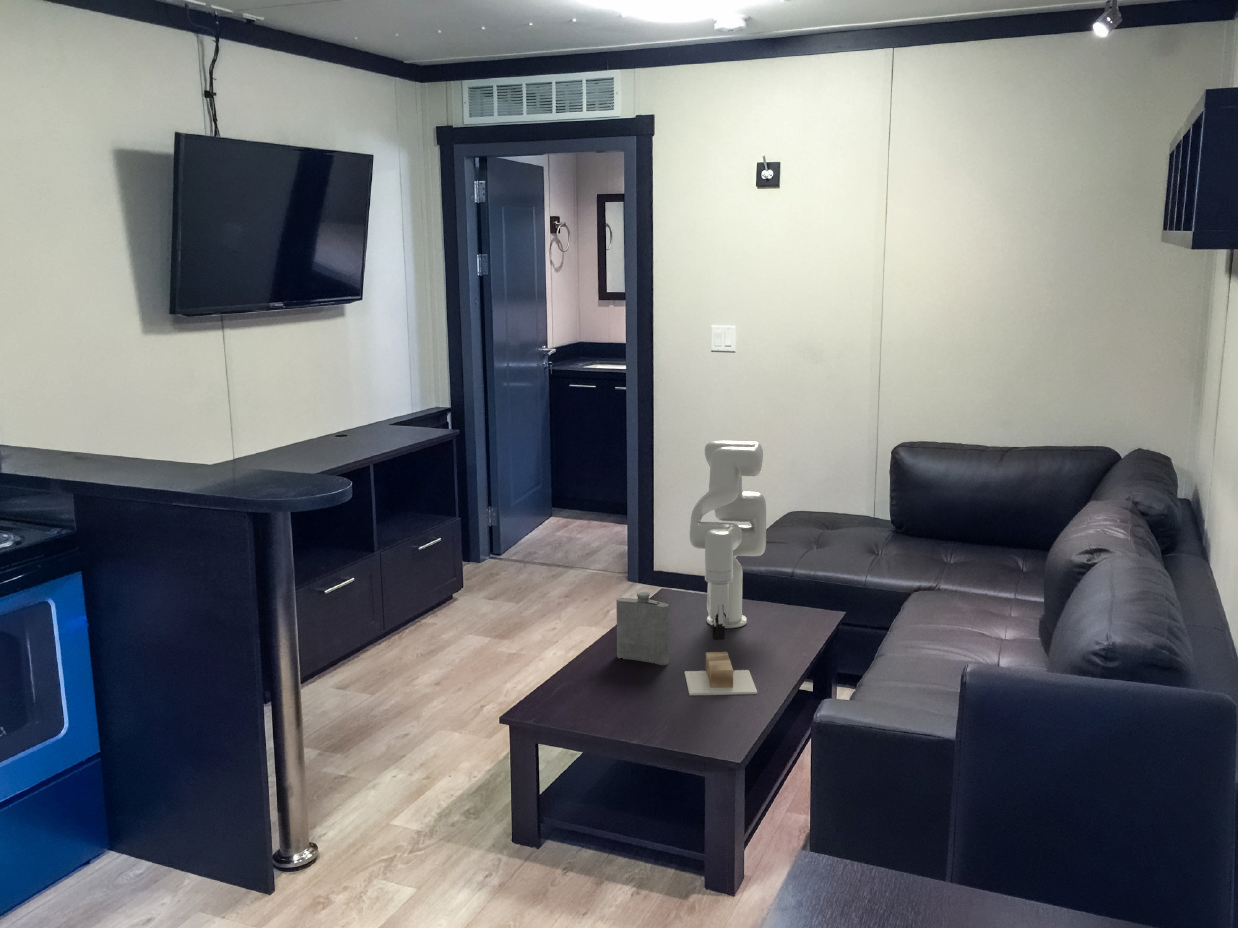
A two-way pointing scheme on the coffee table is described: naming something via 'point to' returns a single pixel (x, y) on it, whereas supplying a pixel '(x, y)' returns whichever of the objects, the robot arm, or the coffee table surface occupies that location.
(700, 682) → the mat
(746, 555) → the robot arm
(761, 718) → the coffee table surface
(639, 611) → the hip flask
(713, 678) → the brown wooden block
